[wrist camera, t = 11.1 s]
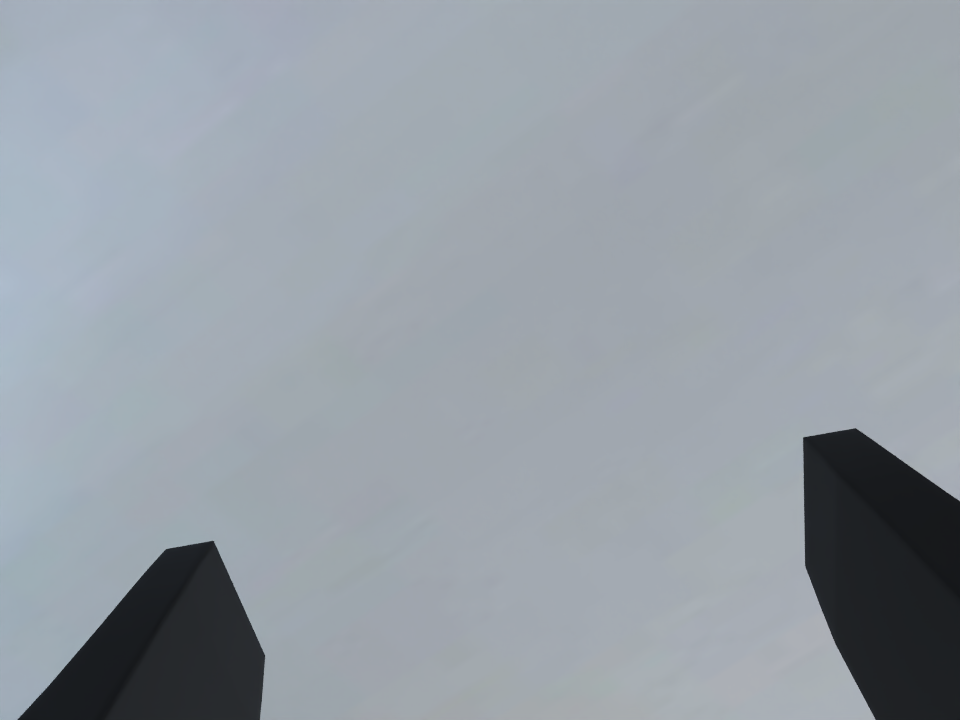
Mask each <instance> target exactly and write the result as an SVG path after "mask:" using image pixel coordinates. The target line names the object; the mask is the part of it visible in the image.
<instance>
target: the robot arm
mask: <svg viewBox="0 0 960 720" xmlns="http://www.w3.org/2000/svg"><path fill="white" fill-rule="evenodd" d="M803 452H804V516H805V566H806V569H807V572H808V574H809V577H810V580H811V582H812V585H813V588H814V590H815V593H816V596H817V598H818V601H819V604H820V606H821V609H822V611H823V614H824V616H825V619H826V621H827V624H828V626H829V629H830V631H831V634H832V636H833V639H834V641H835V644H836V645H837V647H838V649H839V651H840V653H841V655H842V657H843V659H844V661H845V663H846V665H847V666H848V668H849V670H850V672H851V674H852V676H853V678H854V680H855V682H856V683H857V685H858V687H859V689H860V691H861V693H862V695H863V697H864V698H865V700H866V702H867V704H868V706H869V708H870V710H871V712H872V713H873V715H874V717H875V719H876V720H960V501H959V500H957V499H956V498H954V497H953V496H951V495H950V494H948V493H947V492H945V491H944V490H943V489H941V488H940V487H938V486H937V485H935V484H934V483H933V482H931V481H930V480H928V479H927V478H925V477H924V476H923V475H921V474H920V473H918V472H917V471H915V470H914V469H913V468H911V467H910V466H908V465H907V464H906V463H904V462H903V461H901V460H900V459H899V458H897V457H896V456H894V455H893V454H892V453H890V452H889V451H887V450H886V449H884V448H883V447H882V446H880V445H879V444H877V443H876V442H875V441H873V440H872V439H870V438H869V437H867V436H866V435H865V434H863V433H862V432H860V431H859V430H857V429H856V428H855V429H849V430H843V431H838V432H832V433H826V434H821V435H815V436H809V437H803ZM264 663H265V655H264V652H263V650H262V648H261V646H260V643H259V641H258V639H257V637H256V635H255V632H254V630H253V628H252V626H251V623H250V621H249V619H248V617H247V614H246V612H245V610H244V608H243V606H242V603H241V601H240V599H239V597H238V594H237V592H236V590H235V588H234V585H233V583H232V581H231V579H230V576H229V574H228V572H227V570H226V568H225V565H224V563H223V561H222V559H221V556H220V554H219V552H218V550H217V547H216V545H215V543H214V541H210V542H204V543H199V544H193V545H187V546H182V547H176V548H170V549H166V550H165V551H164V552H163V553H162V554H161V555H160V556H159V558H158V559H157V560H156V561H155V562H154V563H153V564H152V565H151V566H150V568H149V569H148V570H147V571H146V572H145V573H144V574H143V576H142V577H141V578H140V579H139V580H138V581H137V583H136V584H135V585H134V586H133V587H132V589H131V590H130V591H129V592H128V593H127V595H126V596H125V597H124V598H123V599H122V600H121V602H120V603H119V604H118V605H117V606H116V608H115V609H114V610H113V611H112V612H111V614H110V615H109V616H108V617H107V618H106V620H105V621H104V622H103V623H102V624H101V626H100V627H99V628H98V629H97V630H96V631H95V633H94V634H93V635H92V636H91V637H90V638H89V640H88V641H87V642H86V643H85V644H84V645H83V647H82V648H81V649H80V650H79V651H78V652H77V654H76V655H75V656H74V657H73V658H72V659H71V661H70V662H69V663H68V664H67V665H66V666H65V668H64V669H63V670H62V671H61V672H60V673H59V675H58V676H57V677H56V678H55V679H54V680H53V682H52V683H51V684H50V685H49V686H48V687H47V688H46V689H45V691H44V692H43V693H42V694H41V695H40V696H39V697H38V698H37V699H36V700H35V701H34V702H33V704H32V705H31V706H30V707H29V708H28V709H27V710H26V711H25V712H24V713H23V714H22V715H21V717H20V718H19V719H18V720H260V712H261V702H262V689H263V676H264Z"/></svg>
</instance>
